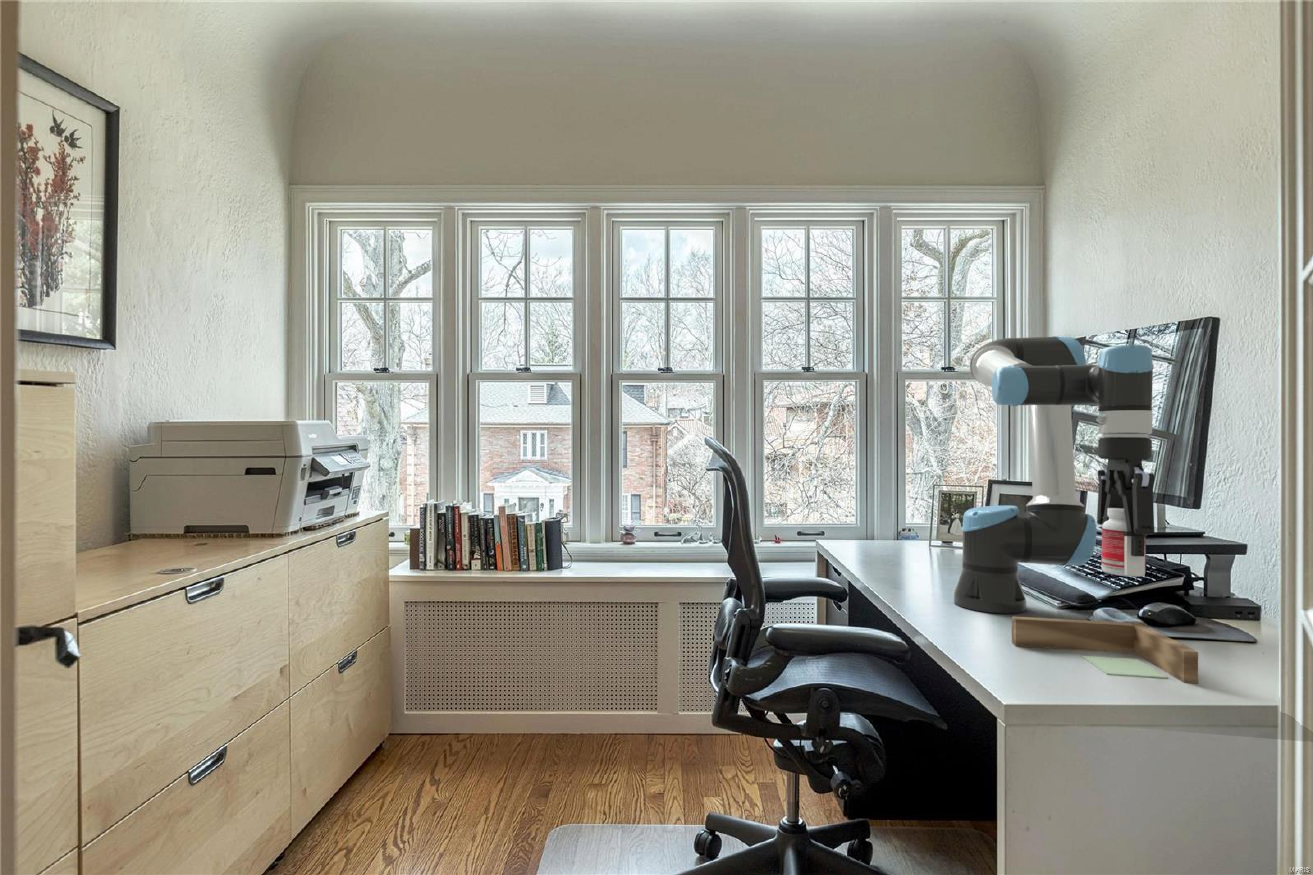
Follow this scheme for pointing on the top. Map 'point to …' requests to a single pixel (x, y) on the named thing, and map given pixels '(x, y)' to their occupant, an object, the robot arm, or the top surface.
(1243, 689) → the top surface
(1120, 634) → the corner barrier
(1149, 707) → the top surface
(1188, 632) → the top surface
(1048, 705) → the top surface
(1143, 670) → the pad
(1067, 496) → the robot arm
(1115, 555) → the pill bottle
